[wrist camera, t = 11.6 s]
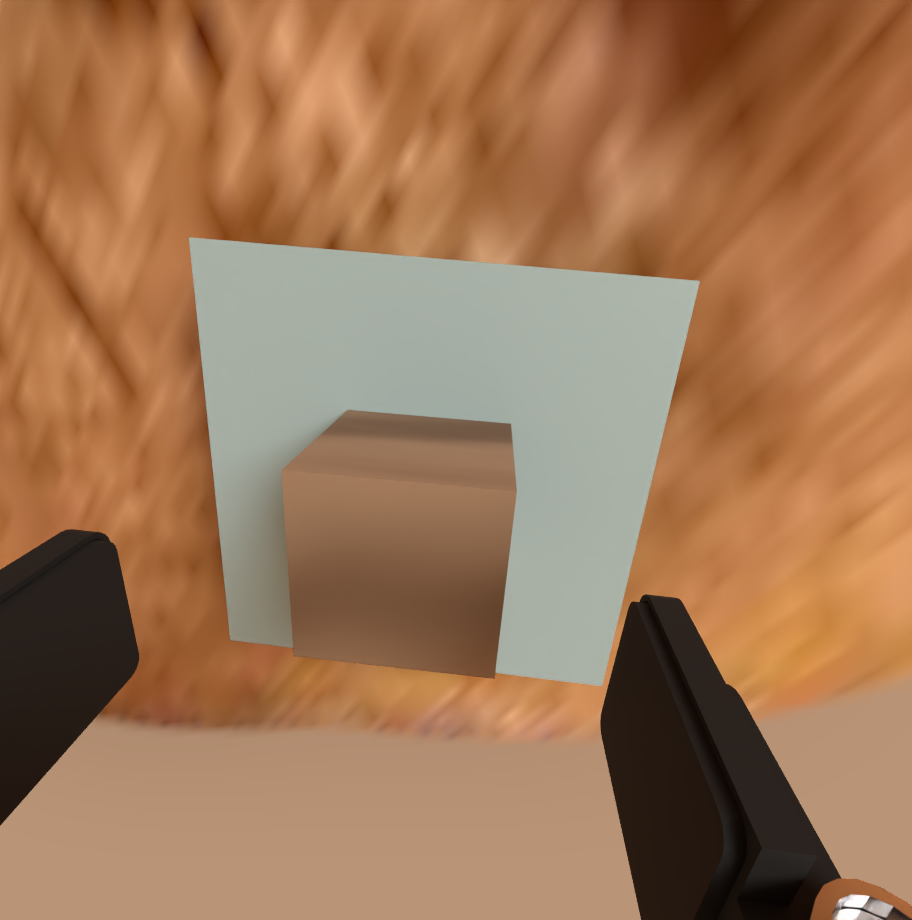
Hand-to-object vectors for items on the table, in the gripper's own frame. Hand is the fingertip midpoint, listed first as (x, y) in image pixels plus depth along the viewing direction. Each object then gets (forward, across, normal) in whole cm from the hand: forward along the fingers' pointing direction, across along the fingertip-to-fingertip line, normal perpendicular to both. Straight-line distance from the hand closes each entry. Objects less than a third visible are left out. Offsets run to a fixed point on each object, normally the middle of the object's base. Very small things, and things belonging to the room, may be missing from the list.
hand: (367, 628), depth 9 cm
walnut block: (+7, 0, +1) cm, 7 cm away
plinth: (+10, 0, +1) cm, 10 cm away
